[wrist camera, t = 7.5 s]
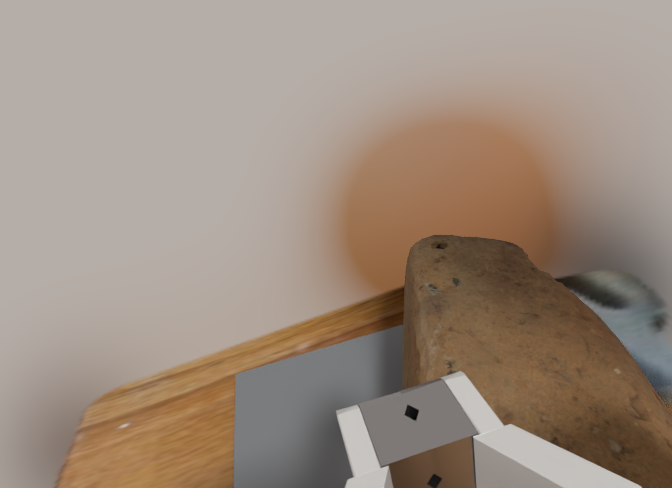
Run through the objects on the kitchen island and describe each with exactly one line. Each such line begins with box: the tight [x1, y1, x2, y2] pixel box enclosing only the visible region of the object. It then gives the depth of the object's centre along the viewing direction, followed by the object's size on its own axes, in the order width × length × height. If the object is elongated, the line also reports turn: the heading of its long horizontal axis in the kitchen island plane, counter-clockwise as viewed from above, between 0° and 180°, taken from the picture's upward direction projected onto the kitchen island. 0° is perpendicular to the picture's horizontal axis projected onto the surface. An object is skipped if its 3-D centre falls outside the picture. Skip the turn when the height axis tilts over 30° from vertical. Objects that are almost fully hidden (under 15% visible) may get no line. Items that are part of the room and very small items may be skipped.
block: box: [402, 235, 672, 488], centre depth 21 cm, size 11×8×20 cm
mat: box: [233, 324, 403, 488], centre depth 25 cm, size 16×18×1 cm
